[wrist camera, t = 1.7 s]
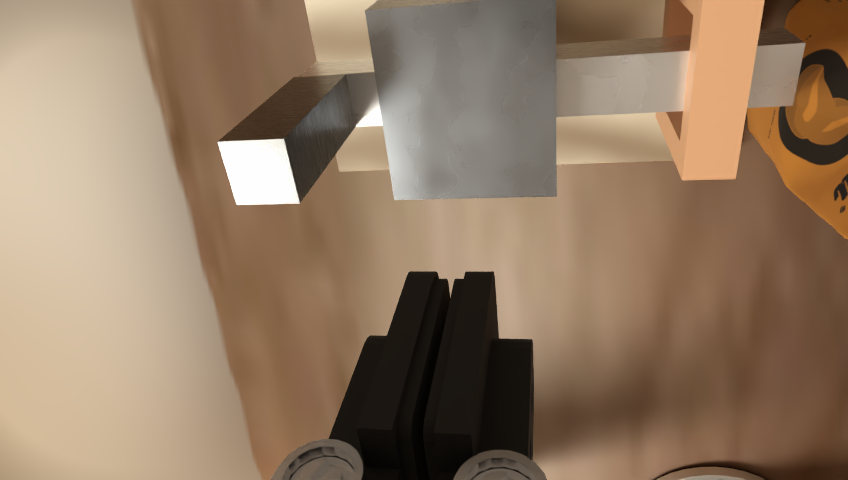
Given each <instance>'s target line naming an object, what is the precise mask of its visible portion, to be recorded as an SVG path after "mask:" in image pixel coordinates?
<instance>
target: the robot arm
mask: <svg viewBox="0 0 848 480" xmlns="http://www.w3.org/2000/svg"><path fill="white" fill-rule="evenodd" d="M533 416H534V369H533V341H532V339H499V334H498V319H497V304H496V289H495V276H494V272H465V276H464V279H455V281H454V284H453V289H452V294H451V298H450V292H449V284H448V280H447V279H439V276H438V273H437V272H409V273H408V275H407V278H406V281H405V284H404V287H403V289H402V292H401V295H400V298H399V301H398V304H397V307H396V310H395V313H394V316H393V319H392V322H391V325H390V328H389V331H388V334H387V336H369V337H368V338H367V340H366V342H365V344H364V346H363V349H362V352H361V354H360V357H359V360H358V362H357V365H356V367H355V370H354V373H353V375H352V378H351V381H350V383H349V386H348V389H347V391H346V394H345V397H344V399H343V402H342V405H341V407H340V410H339V413H338V415H337V418H336V421H335V423H334V426H333V429H332V431H331V434H330V437H329V439H322V440H317V441H312V442H309V443H307V444H305V445H303V446H301V447H298V448H297V449H296V450H294V451H293V452H292V453H290V454H289V455H288V456H287V457H286V458H285V459H284V460H283V462H282V463H281V464H280V465H279V467H278V468H277V470H276V471H275V473H274V475H273V476H272V478H271V480H547V479H546V476H545V474H544V472H543V471H542V470H541V469H540V467H539V466H538V465H537V464H536V463H535V462H534V461H532V457H533ZM657 480H765V479H763V478H761V477H759V476H756V475H754V474H751V473H748V472H745V471H741V470H737V469H732V468H724V467H696V468H689V469H683V470H679V471H676V472H672V473H669V474H667V475H665V476H662V477H660V478H658V479H657Z"/></svg>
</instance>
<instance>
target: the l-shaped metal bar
mask: <svg viewBox="0 0 848 480" xmlns="http://www.w3.org/2000/svg"><path fill="white" fill-rule="evenodd" d="M690 42H691V35H681V36H667V37H653V38H640V39H626V40H612V41H598V42H584V43H571V44H557V45H556V117H571V116H592V115H613V114H633V113H654V112H675V111H683V107H684V98H685V89H686V80H687V70H688V61H689V52H690ZM804 48H805V42H804V41H802V40H801V39H799V38H798V37H796V36H795V35H794V34H792V33H791V32H789V31H788V30H787V29H785V28H778V29H764V30H760V32H759V38H758V44H757V50H756V56H755V63H754V69H753V75H752V81H751V87H750V93H749V99H748V105H747V108H758V107H778V106H793V103H794V98H795V93H796V88H797V83H798V78H799V73H800V68H801V63H802V58H803V53H804ZM364 126H383V124H382V117H381V111H380V104H379V98H378V92H377V85H376V79H375V72H374V66H373V60H372V58H363V59H350V60H336V61H322V62H315V63H314V64H313V65H312V66H310V67H309V68H308V69H307V70H306V71H305V72H303V73H302V74H301V75H300V76H299V77H294V78H292V79H291V80H290V81H289V82H288V83H287V84H285V85H284V86H283V87H282V88H281V89H279V90H278V91H277V92H276V93H275V94H273V95H272V96H271V97H270V98H269V99H268V100H266V101H265V102H264V103H263V104H262V105H260V106H259V107H258V108H257V109H256V110H255V111H253V112H252V113H251V114H250V115H249V116H247V117H246V118H245V119H244V120H243V121H242V122H240V123H239V124H238V125H237V126H236V127H234V128H233V129H232V130H231V131H230V132H228V133H227V134H226V135H225V136H224V137H223V138H221V139H220V140H219V141H218V145H219V148H220V152H221V155H222V158H223V161H224V165H225V168H226V171H227V174H228V178H229V181H230V184H231V188H232V191H233V194H234V197H235V201H236V204H237V205H248V204H294V203H300V202H301V201H302V200H303V198H304V197H305V195H306V194H307V193H308V191H309V190H310V189H311V187H312V186H313V185H314V183H315V182H316V180H317V179H318V178H319V176H320V175H321V174H322V172H323V171H324V169H325V168H326V167H327V165H328V164H329V163H330V161H331V160H332V158H333V157H334V156H335V154H336V153H337V152H338V150H339V149H340V148H341V146H342V145H343V143H344V142H345V141H346V139H347V138H348V137H349V135H350V134H351V132H352V131H353V130H354V128H355V127H364Z"/></svg>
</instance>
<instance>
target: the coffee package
mask: <svg viewBox="0 0 848 480" xmlns="http://www.w3.org/2000/svg"><path fill="white" fill-rule="evenodd" d="M785 29H787V30H788V31H789V32H791V33H792V34H794V35H795V36H796V37H798V38H799V39H801V40H802V41H804V42H805V48H804V53H803V58H802V63H801V68H800V73H799V78H798V83H797V88H796V93H795V98H794V103H793V106H778V107H758V108H747V123H748V130H749V131H750V132H751V133H752V134H753V135H754V137H755V138H756V139H757V141H758V142H759V143H760V145H761V146H762V148H763V149H764V151H765V152H766V153H767V154H768V155H769V157H770V158H771V159H772V160H773V162H774V164H775V165H776V167H777V170H778V172H779V173H780V175H781V177H782V179H783V181H784V183H785V185H786V186H787V188H789V189H790V190H791V191H792V192H793V193H794V194H795V195H796V196H797V197H798V198H800V199H801V200H802V201H804V202H805V203H806V204H807V205H808V206H809V207H810V208H812V209H813V210H814V211H815V213H816V214H818V215H819V216H820V217H822V218H823V219H824V220H825V221H826V222H828V223H829V224H830V225H831V226H832V227H834V228H835V230H836V231H837V232H838V233H840V234H841V235H842V236H843V237H844V238H845V239H848V0H800V1H799V2H798V3H797V4H795V5H794V6H793V8H792V9H791V10H790V11H789V14H788V16H787V18H786V20H785Z"/></svg>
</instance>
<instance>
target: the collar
mask: <svg viewBox="0 0 848 480" xmlns="http://www.w3.org/2000/svg"><path fill="white" fill-rule="evenodd" d="M764 1H765V0H665V9H664V21H663V33H662V37H667V36H681V35H691V42H690V52H689V61H688V70H687V80H686V89H685V98H684V107H683V111H675V112H656V116H655V117H656V119H657V121H658V124H659V126H660V129H661V131H662V133H663V136H664V138H665V140H666V143H667V145H668V148H669V150H670V152H671V155H672V157H673V160H674V162H675V164H676V167H677V169H678V172H679V174H680V176H681V179H682V180H713V179H736V173H737V167H738V161H739V154H740V148H741V142H742V136H743V130H744V124H745V118H746V112H747V105H748V99H749V93H750V87H751V81H752V75H753V69H754V63H755V56H756V50H757V44H758V38H759V32H760V26H761V20H762V14H763V7H764Z"/></svg>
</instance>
